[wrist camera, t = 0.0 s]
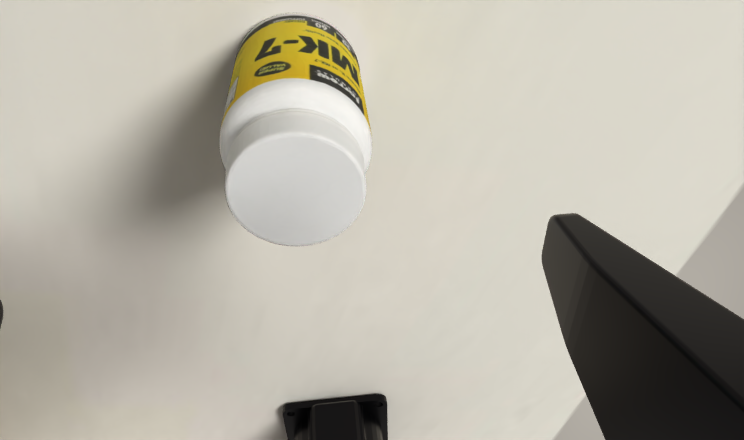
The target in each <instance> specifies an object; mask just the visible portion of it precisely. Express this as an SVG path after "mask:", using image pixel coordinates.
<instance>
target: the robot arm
mask: <svg viewBox="0 0 744 440" xmlns="http://www.w3.org/2000/svg"><path fill="white" fill-rule="evenodd" d="M542 265H543V269H544V272H545V276H546V279H547V283H548V286H549V290H550V293H551V297H552V300H553V304H554V307H555V310H556V314H557V317H558V321H559V324H560V328H561V331H562V335H563V338H564V341H565V344H566V347H567V349H568V352H569V354H570V357H571V360H572V362H573V364H574V367H575V369H576V371H577V374H578V376H579V378H580V381H581V383H582V386H583V388H584V390H585V393H586V395H587V397H588V400H589V402H590V404H591V407H592V409H593V412H594V414H595V416H596V419H597V421H598V423H599V426H600V428H601V430H602V433H603V435H604V437H605V440H744V319H742V318H741V317H739V316H738V315H736V314H734V313H733V312H731V311H730V310H728V309H727V308H725V307H724V306H722V305H720V304H719V303H717V302H716V301H714V300H712V299H711V298H709V297H708V296H706V295H704V294H703V293H701V292H700V291H698V290H697V289H695V288H694V287H692V286H690V285H689V284H687V283H686V282H684V281H683V280H681V279H679V278H678V277H676V276H675V275H673V274H672V273H670V272H668V271H667V270H665V269H664V268H662V267H661V266H659V265H657V264H656V263H654V262H653V261H651V260H650V259H648V258H646V257H645V256H643V255H642V254H640V253H639V252H637V251H635V250H634V249H632V248H631V247H629V246H628V245H626V244H624V243H623V242H621V241H620V240H618V239H617V238H615V237H613V236H612V235H610V234H609V233H607V232H606V231H604V230H602V229H601V228H599V227H598V226H596V225H594V224H593V223H591V222H590V221H588V220H587V219H585V218H583V217H582V216H580V215H578V214H575V213H570V214H559V215H554V216H552V217H551V218H550V220H549V222H548V226H547V231H546V236H545V240H544V245H543V250H542ZM2 319H3V306H2V302H1V300H0V328H1V324H2ZM283 418H284V422H285V427H286V432H287V436H288V440H388V431H387V400H386V397H385V396H384V395H381V394H378V395H368V396H359V397H349V398H340V399H330V400H321V401H311V402H301V403H292V404H287V405H285V406H284V407H283Z"/></svg>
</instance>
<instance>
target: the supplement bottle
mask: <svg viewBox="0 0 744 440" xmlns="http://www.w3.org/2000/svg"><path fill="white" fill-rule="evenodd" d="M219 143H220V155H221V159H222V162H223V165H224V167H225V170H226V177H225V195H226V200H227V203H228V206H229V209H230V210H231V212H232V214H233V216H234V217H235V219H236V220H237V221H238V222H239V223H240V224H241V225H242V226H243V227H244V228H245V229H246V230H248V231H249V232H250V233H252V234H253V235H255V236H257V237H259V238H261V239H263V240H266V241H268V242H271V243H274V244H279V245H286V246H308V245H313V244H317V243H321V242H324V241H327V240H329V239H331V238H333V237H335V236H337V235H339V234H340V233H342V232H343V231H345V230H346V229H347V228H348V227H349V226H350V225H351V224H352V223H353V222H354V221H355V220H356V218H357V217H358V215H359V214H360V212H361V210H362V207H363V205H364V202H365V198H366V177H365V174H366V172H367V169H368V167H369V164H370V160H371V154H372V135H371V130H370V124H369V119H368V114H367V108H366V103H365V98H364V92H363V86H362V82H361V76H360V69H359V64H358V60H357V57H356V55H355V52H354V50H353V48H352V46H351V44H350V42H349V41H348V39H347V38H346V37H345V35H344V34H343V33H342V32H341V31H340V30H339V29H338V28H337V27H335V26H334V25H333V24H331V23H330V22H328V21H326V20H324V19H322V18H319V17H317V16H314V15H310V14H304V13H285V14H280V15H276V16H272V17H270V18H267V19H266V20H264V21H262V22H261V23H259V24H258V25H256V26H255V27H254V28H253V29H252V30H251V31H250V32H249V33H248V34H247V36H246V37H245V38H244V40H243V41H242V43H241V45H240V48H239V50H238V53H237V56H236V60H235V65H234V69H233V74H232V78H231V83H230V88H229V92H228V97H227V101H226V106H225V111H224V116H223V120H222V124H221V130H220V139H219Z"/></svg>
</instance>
